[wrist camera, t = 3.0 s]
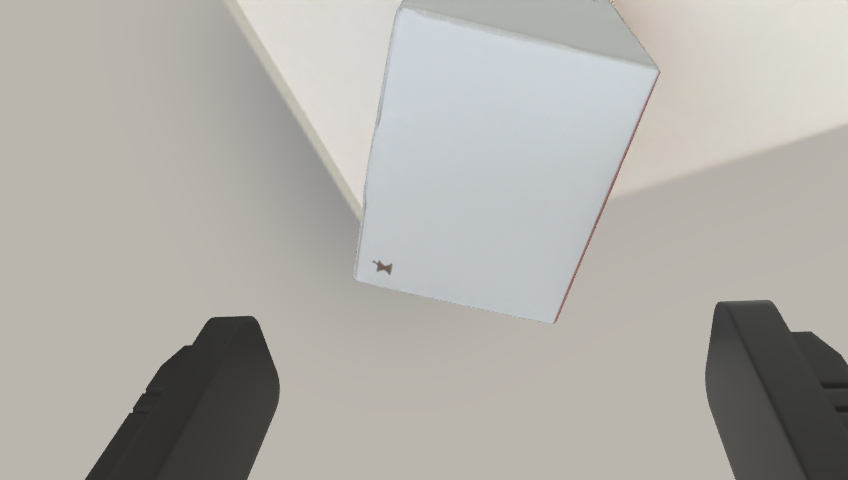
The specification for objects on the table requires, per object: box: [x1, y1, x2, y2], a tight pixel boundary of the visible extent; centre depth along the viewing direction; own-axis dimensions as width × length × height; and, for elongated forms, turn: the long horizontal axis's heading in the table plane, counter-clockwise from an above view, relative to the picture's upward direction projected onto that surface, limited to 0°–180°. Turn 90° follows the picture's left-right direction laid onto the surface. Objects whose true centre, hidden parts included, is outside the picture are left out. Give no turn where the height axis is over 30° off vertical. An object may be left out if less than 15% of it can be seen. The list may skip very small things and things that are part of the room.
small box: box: [353, 0, 660, 324], centre depth 21 cm, size 8×6×13 cm
